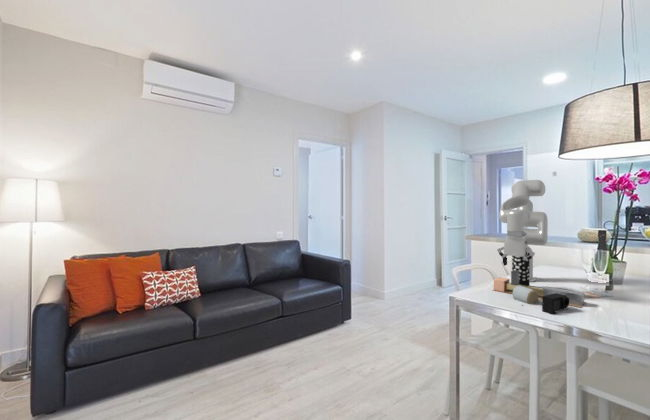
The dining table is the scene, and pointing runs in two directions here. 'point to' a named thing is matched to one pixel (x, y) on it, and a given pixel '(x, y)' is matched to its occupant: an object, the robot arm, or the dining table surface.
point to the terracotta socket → (500, 284)
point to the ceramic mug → (525, 295)
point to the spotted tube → (521, 269)
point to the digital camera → (554, 303)
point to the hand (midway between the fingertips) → (515, 266)
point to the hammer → (516, 282)
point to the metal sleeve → (573, 296)
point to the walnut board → (538, 297)
